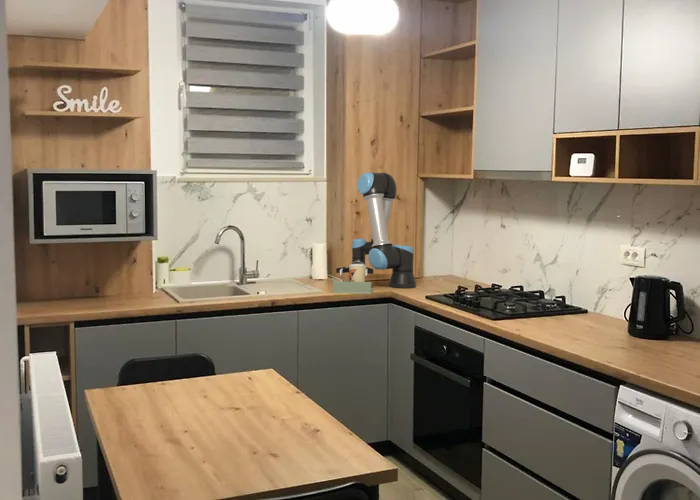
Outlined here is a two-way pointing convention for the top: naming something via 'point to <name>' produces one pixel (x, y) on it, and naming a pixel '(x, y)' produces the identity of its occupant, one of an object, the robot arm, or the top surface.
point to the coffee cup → (357, 272)
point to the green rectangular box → (352, 287)
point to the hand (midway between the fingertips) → (353, 272)
